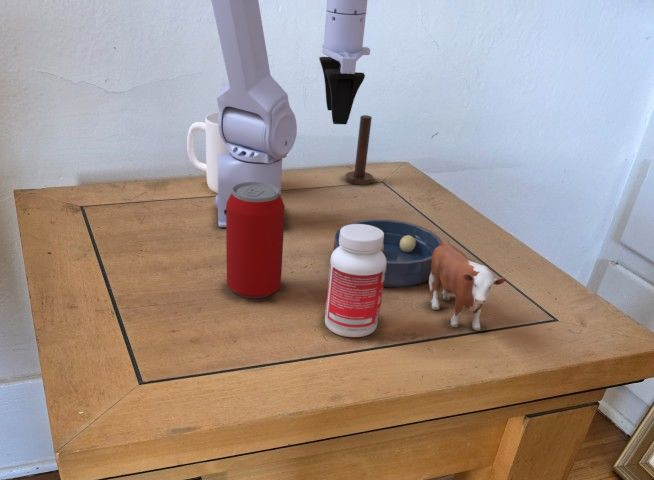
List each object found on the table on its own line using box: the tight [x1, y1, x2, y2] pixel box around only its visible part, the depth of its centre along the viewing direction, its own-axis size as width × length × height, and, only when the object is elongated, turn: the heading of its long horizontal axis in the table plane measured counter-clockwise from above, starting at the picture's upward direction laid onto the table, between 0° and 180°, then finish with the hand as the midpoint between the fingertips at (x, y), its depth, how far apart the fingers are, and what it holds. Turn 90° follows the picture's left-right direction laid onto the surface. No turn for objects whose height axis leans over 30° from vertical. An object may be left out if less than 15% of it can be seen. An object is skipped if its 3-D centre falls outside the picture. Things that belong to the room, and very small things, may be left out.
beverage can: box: [225, 182, 285, 299], centre depth 83 cm, size 7×7×12 cm
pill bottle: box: [324, 224, 387, 338], centre depth 77 cm, size 6×6×11 cm
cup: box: [186, 111, 229, 194], centre depth 110 cm, size 8×12×10 cm
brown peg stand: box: [345, 114, 374, 186], centre depth 115 cm, size 5×5×10 cm
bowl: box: [332, 218, 443, 288], centre depth 92 cm, size 14×14×4 cm
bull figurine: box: [428, 241, 507, 332], centre depth 81 cm, size 4×13×8 cm, turn 13°
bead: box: [399, 235, 416, 252], centre depth 95 cm, size 2×2×2 cm
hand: (336, 116), depth 109 cm, fingers open, 7 cm apart
